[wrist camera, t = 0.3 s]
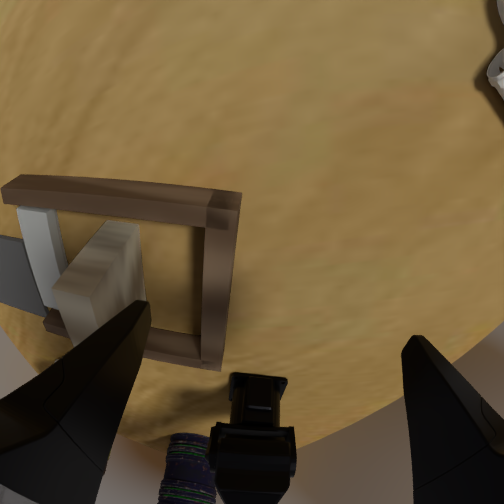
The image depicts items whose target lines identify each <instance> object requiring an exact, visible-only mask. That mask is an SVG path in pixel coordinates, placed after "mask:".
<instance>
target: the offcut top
mask: <svg viewBox="0 0 504 504" xmlns="http://www.w3.org/2000/svg"><path fill="white" fill-rule="evenodd" d="M16 210H17V214H18V219H19V223H20V228H21V232H22V236H23V240H24V243H25V247H26V251H27V254H28V258H29V261H30V265H31V268H32V271H33V274H34V277H35V280H36V283H37V286H38V289H39V292H40V295H41V298H42V301H43V303H44V306H47V307H51V308H54V309H57V310H59V309H58V306H57V303H56V300H55V298H54V295H53V292H52V289H51V288H52V287H53V285H54V284H55V283H56V281H57V280H58V279H59V278H60V276H61V275H62V274H63V272H64V271H65V270H66V266H65V262H64V258H63V253H62V249H61V244H60V239H59V234H58V229H57V224H56V218H55V212H54V209H49V208H40V207H30V206H21V205H20V206H19V207H18V208H17V209H16Z"/></svg>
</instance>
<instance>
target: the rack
mask: <svg viewBox="0 0 504 504" xmlns="http://www.w3.org/2000/svg"><path fill="white" fill-rule="evenodd" d="M1 193H2V198H3V203H4V204H11V205H21V206H30V207H40V208H49V209H58V210H67V211H76V212H85V213H93V214H102V215H110V216H118V217H127V218H135V219H143V220H151V221H159V222H166V223H174V224H182V225H190V226H197V227H205V244H204V264H203V288H202V321H201V336H196V335H190V334H184V333H178V332H173V331H167V330H162V329H157V328H151V327H150V330H149V334H148V338H147V342H146V346H145V350H144V354H143V358H148V359H152V360H157V361H162V362H167V363H172V364H178V365H183V366H189V367H194V368H200V369H207V370H213V371H220V372H221V366H222V360H223V353H224V346H225V336H226V327H227V318H228V309H229V300H230V291H231V282H232V273H233V265H234V256H235V248H236V239H237V231H238V223H239V214H240V206H241V198H242V193H240V192H232V191H224V190H217V189H208V188H200V187H191V186H182V185H173V184H163V183H153V182H142V181H130V180H118V179H104V178H90V177H72V176H52V175H22V174H21V175H19V176H18V177H16V178H15V179H13V180H12V181H10V182H9V183H7V184H6V185H4V186H3V187H1ZM43 324H44V326H45V328H46V331H48V332H51V333H54V334H57V335H61V336H64V337H67V338H70V337H69V334H68V332H67V329H66V327H65V324H64V322H63V319H62V317H61V314H60V311H59V310H57V309H54V308H52V309H51V310H50V312H49V313H48V315H47V316H46V318H45V319H44V321H43Z"/></svg>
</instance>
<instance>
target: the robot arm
mask: <svg viewBox="0 0 504 504" xmlns="http://www.w3.org/2000/svg"><path fill="white" fill-rule="evenodd" d="M150 326H151V312H150V304H149V302H148V301H144V300H139V299H137V300H135V301H134V302H132V303H131V304H130V305H128V306H127V307H126V308H124V309H123V310H122V311H120V312H119V313H118V314H117V315H115V316H114V317H113V318H111V319H110V320H109V321H107V322H106V323H105V324H104V325H102V326H101V327H100V328H98V329H97V330H96V331H94V332H93V333H92V334H91V335H89V336H88V337H87V338H85V339H84V340H83V341H82V342H80V343H79V344H78V345H77V346H75V347H74V348H73V349H71V350H70V351H69V352H68V353H66V354H65V355H64V356H63V357H62V358H63V359H62V358H60V359H59V360H57V361H56V362H55V363H54V364H52V365H51V366H50V367H48V368H47V369H46V370H44V371H43V372H42V373H40V374H39V375H37V376H36V377H34V378H33V379H32V380H30V381H28V382H27V383H25V384H24V385H22V386H21V387H19V388H18V389H16V390H14V391H13V392H11V393H10V394H8V395H7V396H5V397H3V398H2V399H0V504H95V501H96V497H97V494H98V490H99V487H100V483H101V480H102V476H103V473H104V470H105V467H106V463H107V460H108V457H109V454H110V451H111V448H112V444H113V442H114V439H115V436H116V433H117V430H118V427H119V424H120V421H121V418H122V415H123V412H124V409H125V407H126V404H127V401H128V398H129V395H130V393H131V390H132V387H133V385H134V382H135V379H136V376H137V374H138V371H139V368H140V365H141V361H142V358H143V354H144V350H145V346H146V342H147V338H148V334H149V330H150ZM401 359H402V373H403V389H404V398H405V405H406V412H407V420H408V428H409V437H410V448H411V459H412V473H413V490H414V491H413V499H414V504H504V419H503V418H502V417H501V416H500V415H499V414H498V413H497V412H496V411H495V410H494V409H492V407H491V406H490V405H489V404H488V403H487V402H486V401H485V400H484V398H483V397H481V395H480V394H479V393H478V392H477V391H476V390H475V389H474V388H473V387H472V386H471V384H470V383H469V382H468V381H467V380H466V379H465V378H464V377H463V376H462V375H461V374H460V373H459V372H458V371H457V370H456V369H455V368H454V366H453V365H452V364H451V363H450V362H449V361H448V360H447V359H446V358H445V357H444V356H443V355H442V354H441V353H440V352H439V351H438V350H437V349H436V348H435V347H434V346H433V345H432V344H431V343H430V342H429V341H428V340H427V339H426V338H425V337H424V336H422V335H413V336H411V338H410V339H409V341H408V342H407V344H406V345H405V347H404V348H403V350H402V353H401ZM287 383H288V380H287V379H286V378H278V377H268V376H258V375H250V374H241V373H233V374H232V380H231V387H230V393H229V400H230V401H232V407H231V415H230V424H228V423H221V422H216V426H214V427H211V432H210V438H209V442H208V446H207V449H206V453H205V460H206V461H207V462H208V463H209V466H210V472H212V473H215V479H214V482H215V486H216V489H217V492H218V493H219V495H220V497H221V499H222V501H223V502H224V504H278V502H279V501H280V499H281V498H282V497H283V495H284V494H285V493H286V491H287V490H288V488H289V486H290V477H294V475H295V471H296V461H297V460H296V459H297V456H296V455H297V454H296V443H295V433H294V427H291V426H289V427H280V400H281V397H282V395H283V393H284V390H285V388H286V386H287Z"/></svg>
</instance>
